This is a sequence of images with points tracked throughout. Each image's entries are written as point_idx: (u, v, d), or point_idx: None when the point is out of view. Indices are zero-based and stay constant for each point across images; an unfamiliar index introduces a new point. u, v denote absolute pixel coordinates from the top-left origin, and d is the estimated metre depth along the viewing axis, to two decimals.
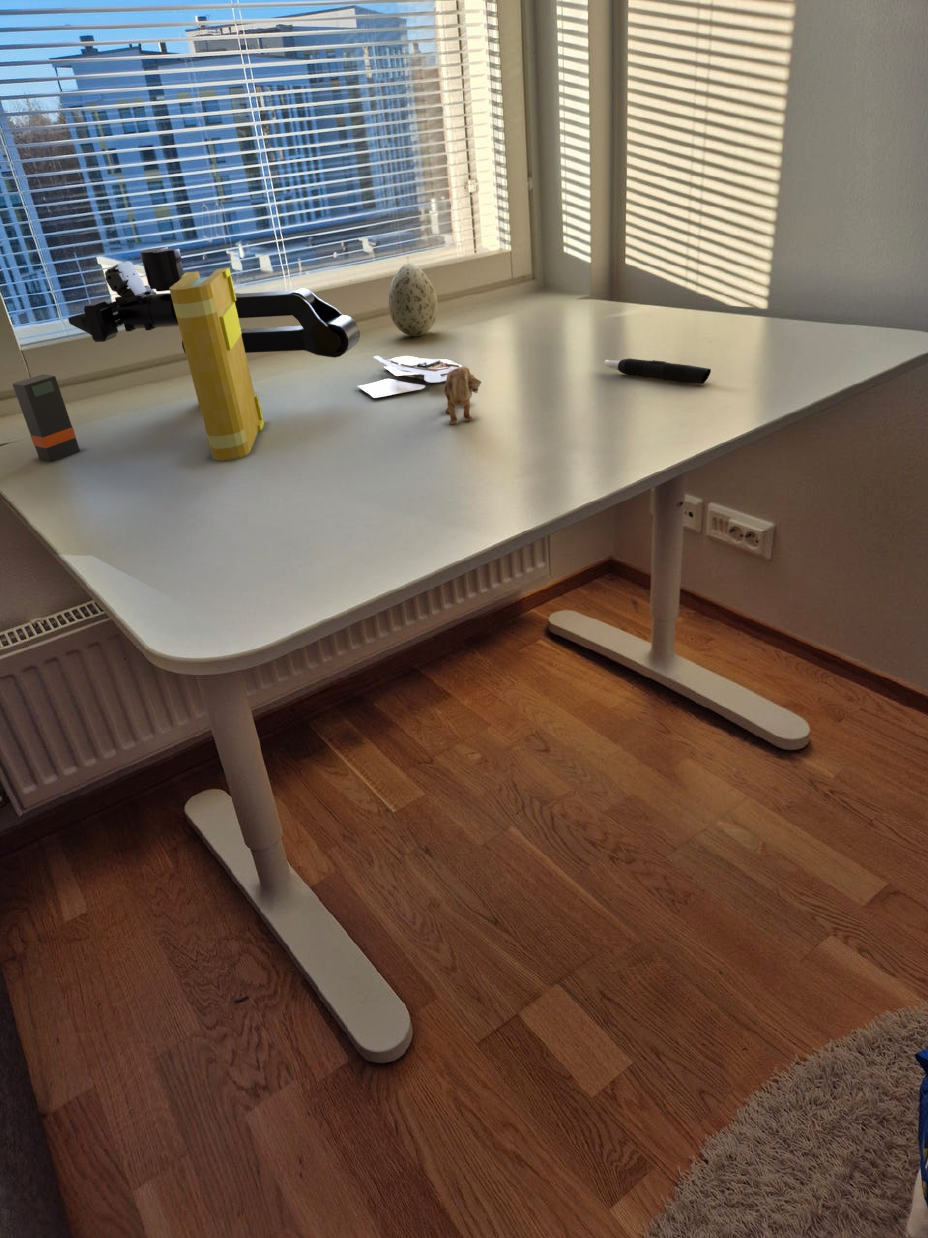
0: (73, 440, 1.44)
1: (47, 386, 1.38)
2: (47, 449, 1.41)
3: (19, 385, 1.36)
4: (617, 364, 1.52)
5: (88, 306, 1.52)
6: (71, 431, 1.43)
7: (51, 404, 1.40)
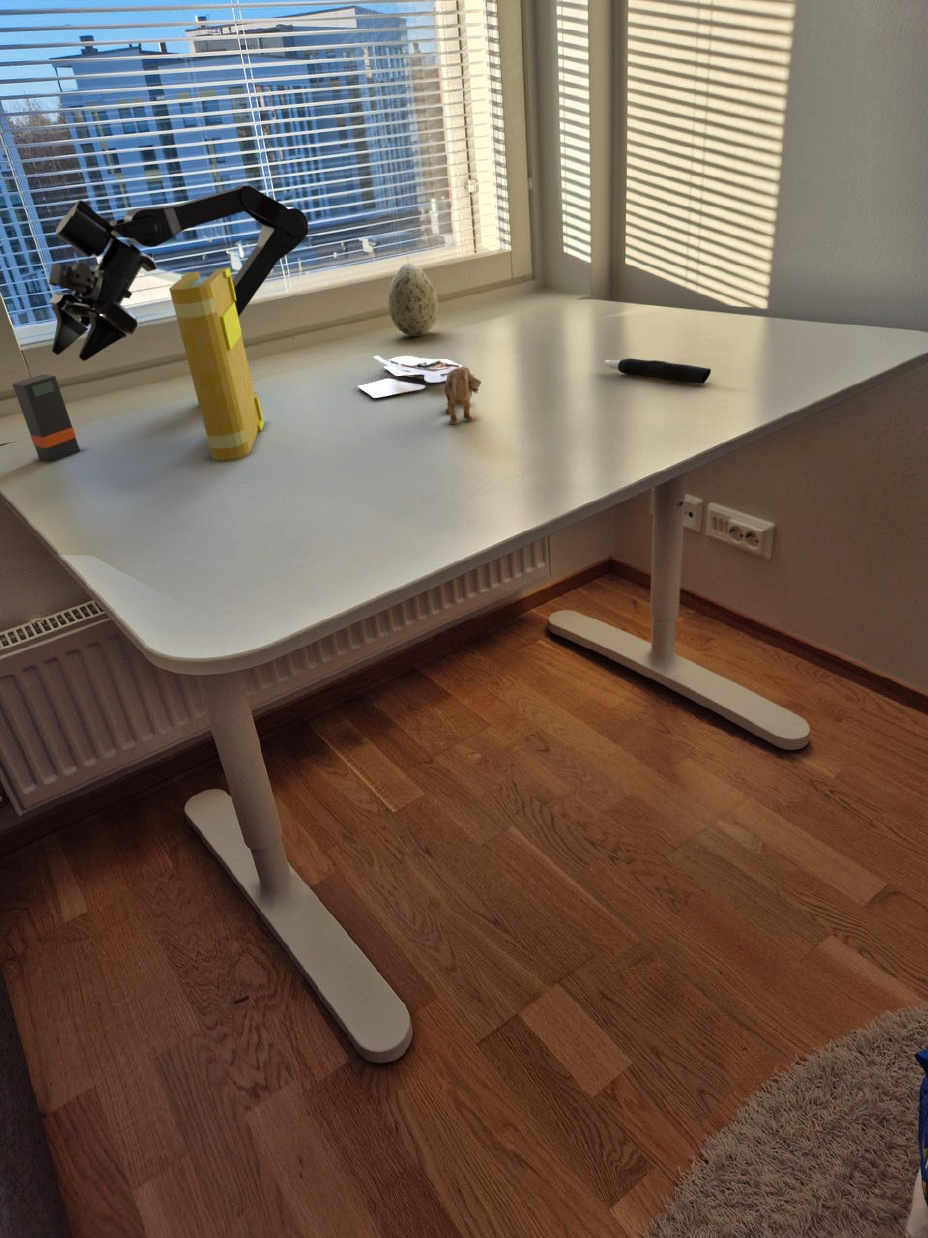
0: (73, 440, 1.44)
1: (47, 386, 1.38)
2: (47, 449, 1.41)
3: (19, 385, 1.36)
4: (617, 363, 1.52)
5: (104, 307, 1.37)
6: (71, 431, 1.43)
7: (51, 404, 1.40)
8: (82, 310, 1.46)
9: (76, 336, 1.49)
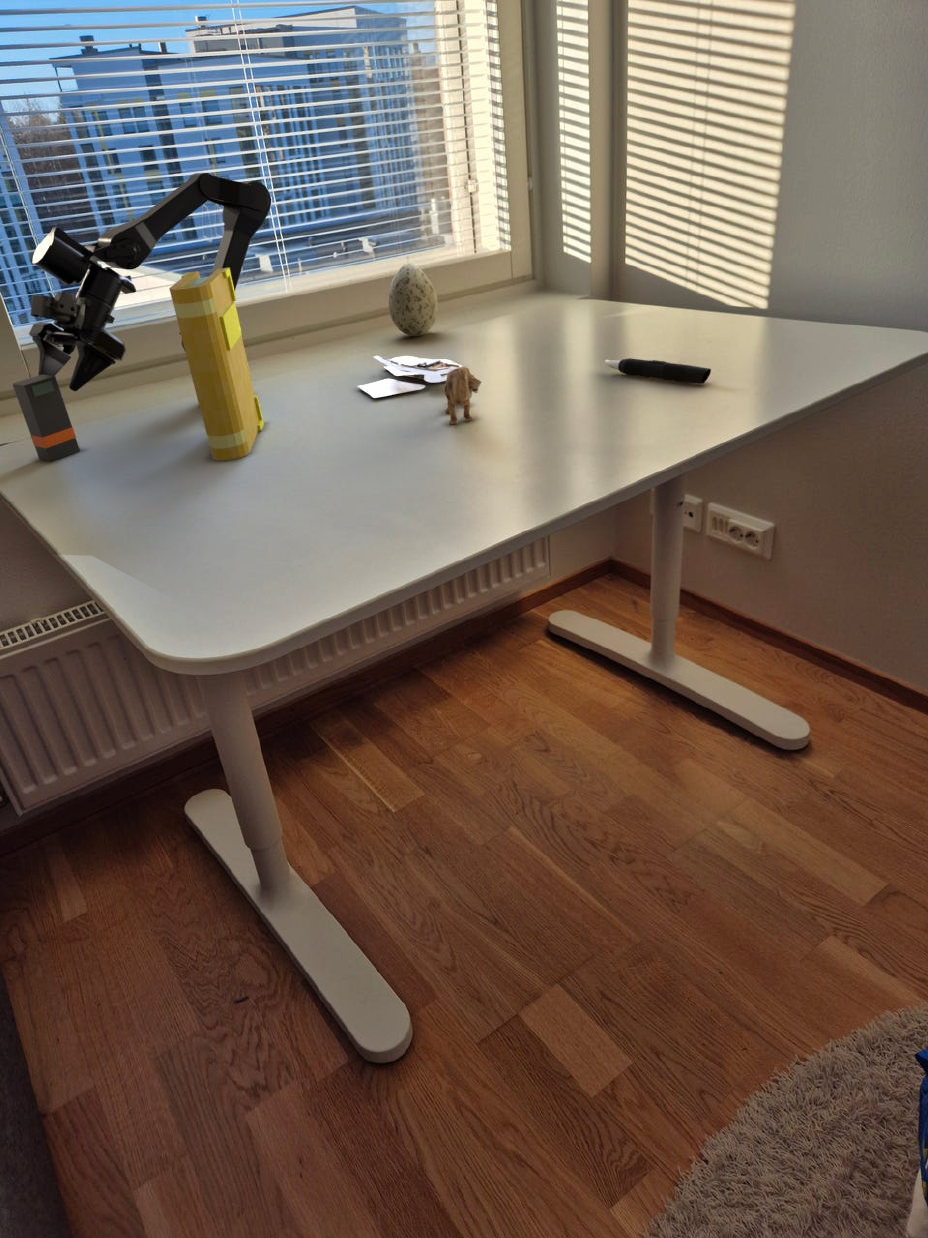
0: (74, 440, 1.44)
1: (47, 386, 1.38)
2: (47, 449, 1.41)
3: (19, 385, 1.36)
4: (617, 363, 1.52)
5: (92, 335, 1.35)
6: (71, 431, 1.43)
7: (51, 404, 1.40)
8: (65, 339, 1.44)
9: (60, 365, 1.46)
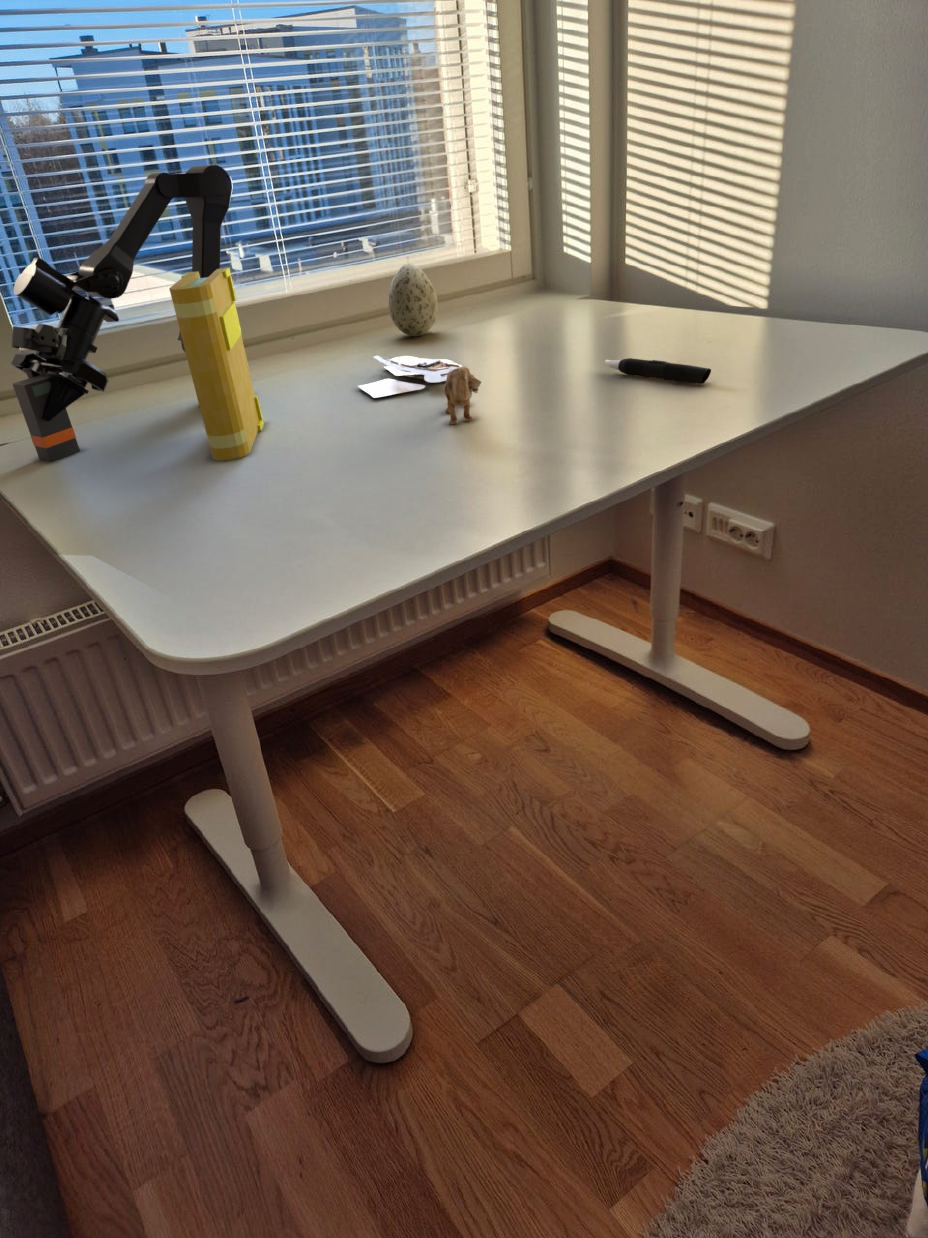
0: (73, 440, 1.44)
1: (47, 387, 1.38)
2: (47, 449, 1.41)
3: (19, 385, 1.36)
4: (617, 363, 1.52)
5: (74, 367, 1.34)
6: (71, 431, 1.43)
7: None
8: (47, 369, 1.42)
9: None
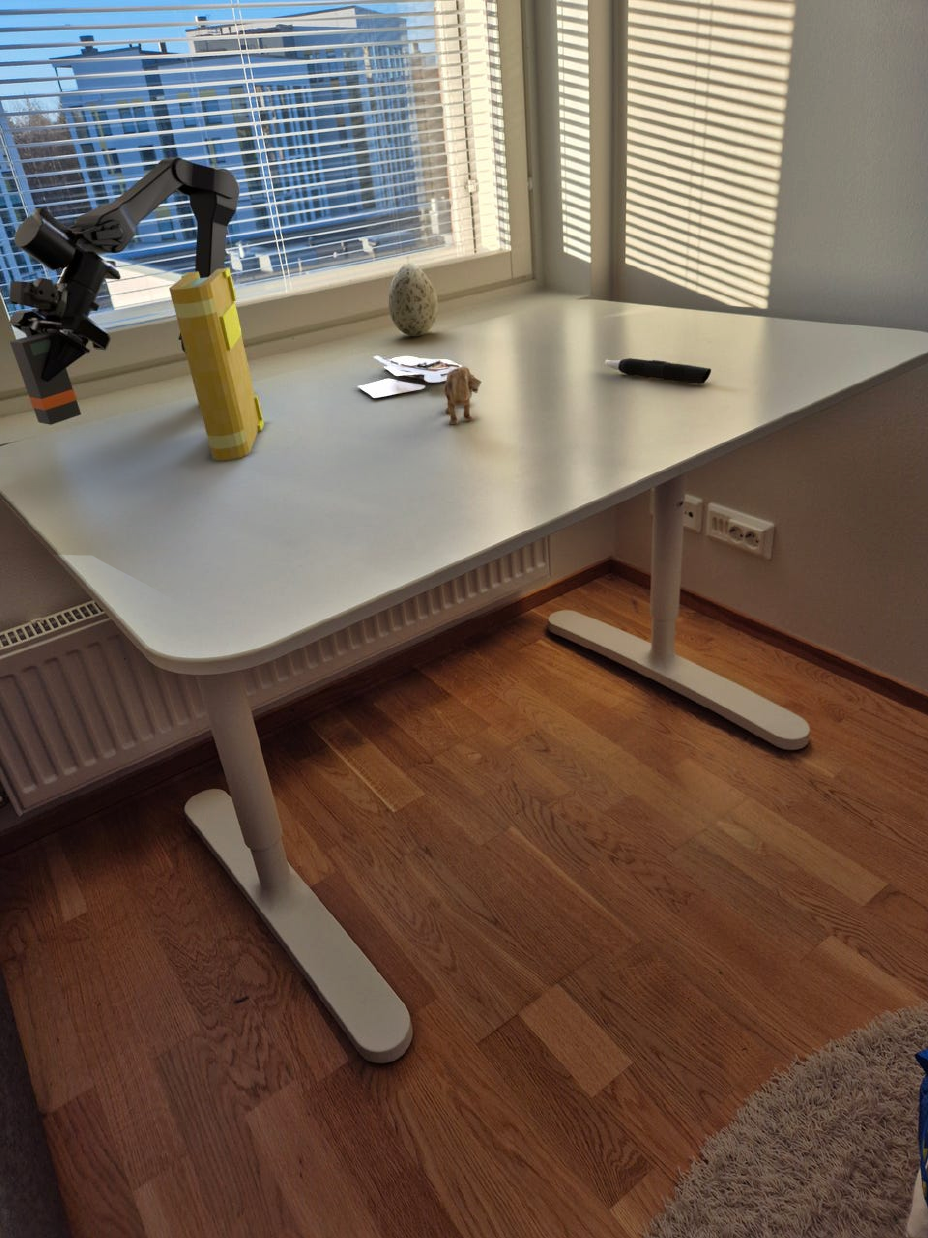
0: (74, 402, 1.38)
1: (47, 345, 1.32)
2: (47, 412, 1.34)
3: (17, 343, 1.30)
4: (617, 363, 1.52)
5: (74, 323, 1.27)
6: (72, 393, 1.37)
7: None
8: (47, 328, 1.36)
9: None
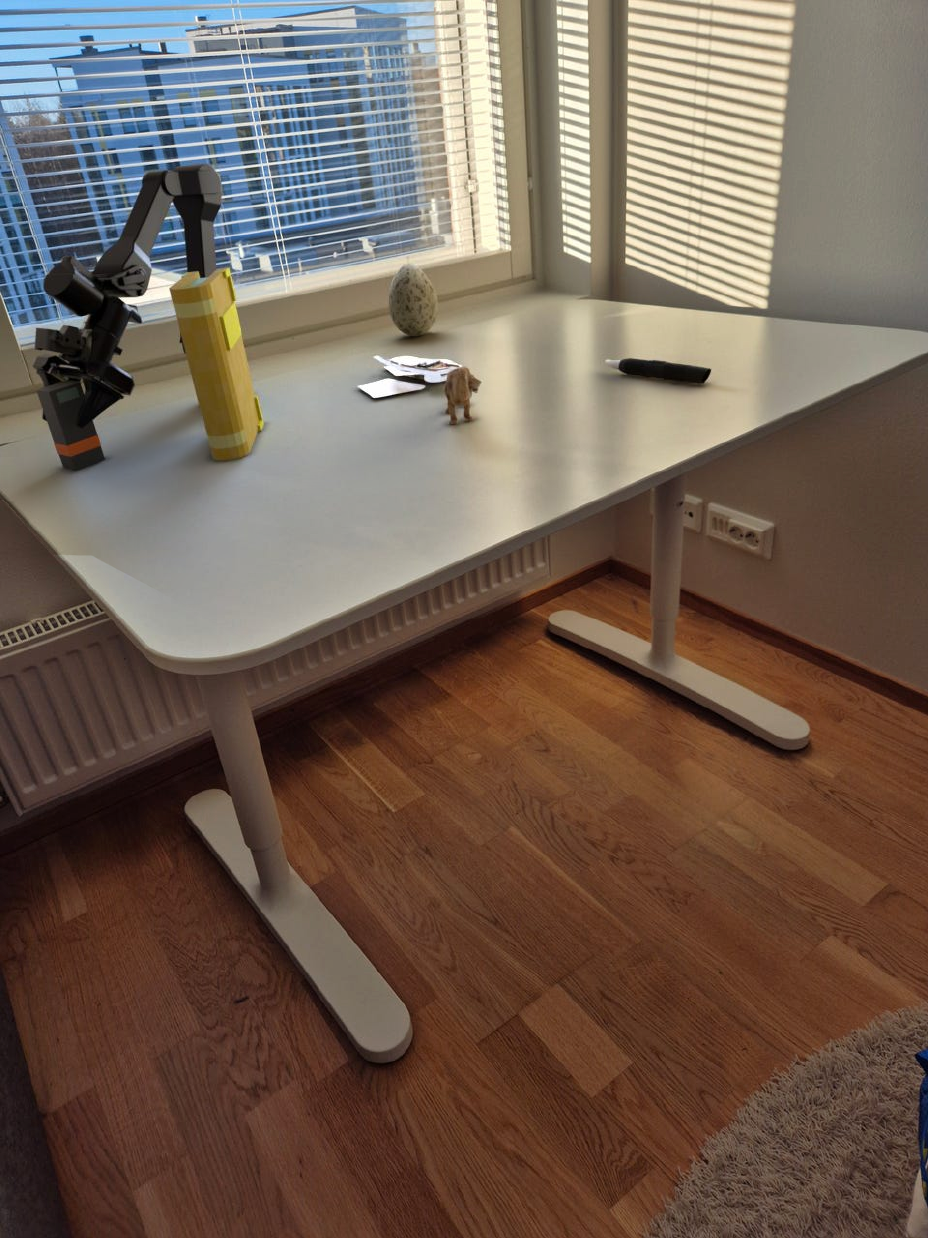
0: (98, 448, 1.39)
1: (73, 393, 1.33)
2: (72, 458, 1.36)
3: (43, 391, 1.31)
4: (617, 363, 1.52)
5: (100, 370, 1.29)
6: (96, 439, 1.38)
7: (76, 411, 1.34)
8: (70, 372, 1.37)
9: None
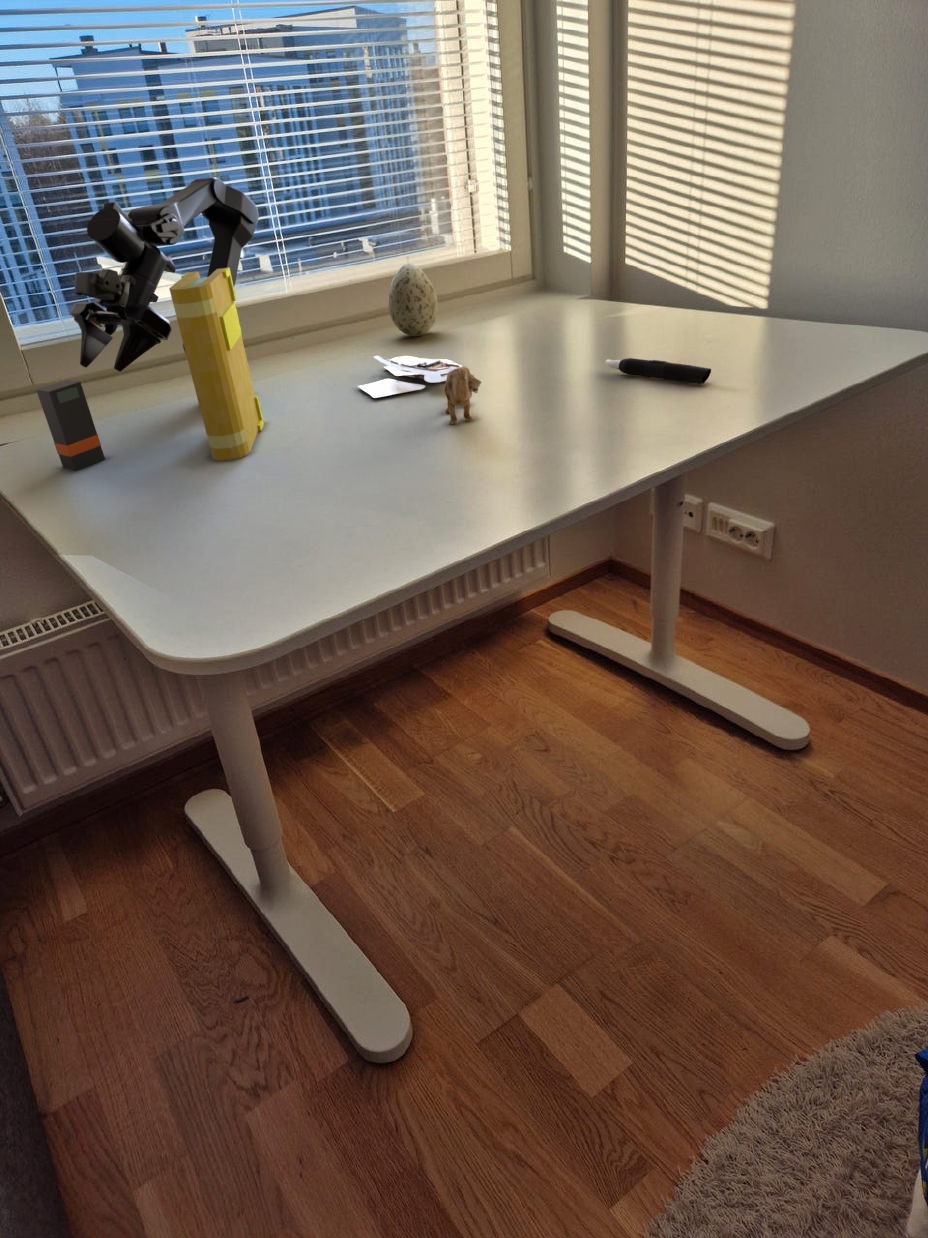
0: (99, 448, 1.39)
1: (73, 393, 1.33)
2: (72, 458, 1.36)
3: (43, 391, 1.31)
4: (617, 363, 1.52)
5: (139, 313, 1.31)
6: (96, 439, 1.38)
7: (76, 411, 1.34)
8: (108, 318, 1.40)
9: (102, 346, 1.42)
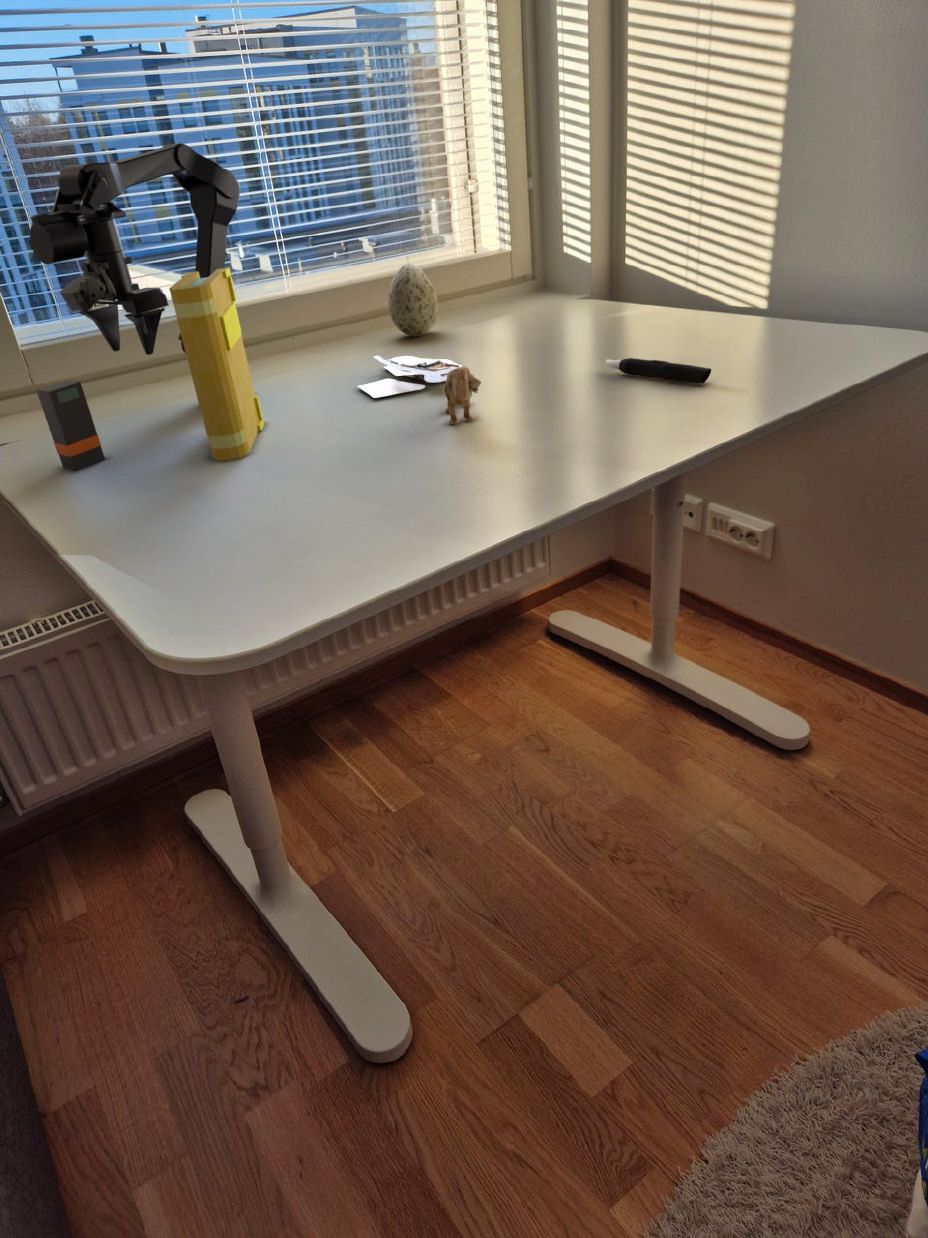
0: (99, 448, 1.39)
1: (73, 393, 1.33)
2: (72, 458, 1.36)
3: (43, 391, 1.31)
4: (618, 363, 1.52)
5: (136, 307, 1.35)
6: (96, 439, 1.38)
7: (76, 411, 1.34)
8: None
9: (116, 320, 1.48)
